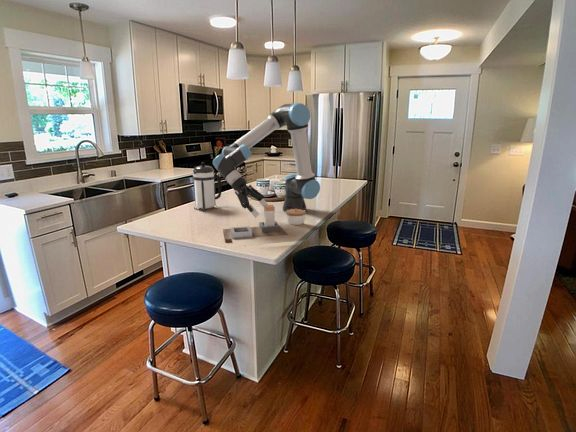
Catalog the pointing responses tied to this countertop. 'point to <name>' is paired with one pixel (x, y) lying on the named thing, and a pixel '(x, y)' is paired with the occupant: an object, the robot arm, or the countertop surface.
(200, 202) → the coffee press
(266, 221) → the plug
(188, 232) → the countertop surface
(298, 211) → the lidded jar
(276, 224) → the frame
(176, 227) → the countertop surface
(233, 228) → the port
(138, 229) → the countertop surface
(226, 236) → the walnut board
